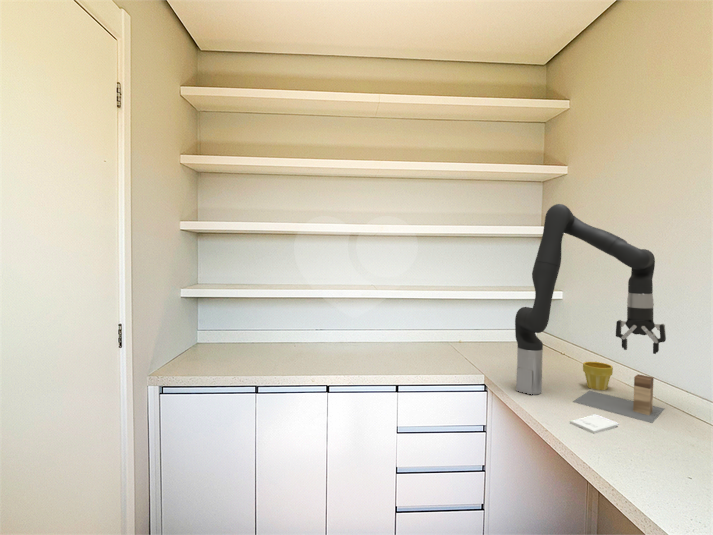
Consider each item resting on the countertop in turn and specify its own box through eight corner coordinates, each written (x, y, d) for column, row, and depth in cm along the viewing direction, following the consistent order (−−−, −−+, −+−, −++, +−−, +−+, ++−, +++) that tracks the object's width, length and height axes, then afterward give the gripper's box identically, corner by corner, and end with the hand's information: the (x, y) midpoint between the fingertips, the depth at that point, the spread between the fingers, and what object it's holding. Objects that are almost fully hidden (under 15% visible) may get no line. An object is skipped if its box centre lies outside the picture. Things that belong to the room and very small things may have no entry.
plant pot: (581, 382, 169) (582, 359, 168) (609, 386, 164) (610, 363, 164) (583, 390, 160) (584, 366, 159) (613, 394, 155) (614, 369, 155)
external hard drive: (619, 428, 127) (593, 435, 121) (594, 418, 134) (569, 424, 129) (619, 423, 127) (593, 430, 121) (594, 413, 134) (569, 420, 129)
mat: (652, 425, 128) (652, 423, 128) (572, 403, 146) (572, 401, 146) (664, 410, 140) (664, 408, 140) (589, 391, 158) (589, 390, 158)
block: (648, 415, 134) (650, 380, 133) (633, 411, 137) (634, 376, 137) (652, 411, 137) (653, 377, 136) (636, 407, 140) (637, 374, 140)
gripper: (614, 305, 142) (613, 350, 143) (664, 308, 132) (663, 357, 133) (618, 303, 148) (618, 346, 148) (667, 306, 138) (666, 352, 138)
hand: (639, 351), depth 141 cm, fingers open, 8 cm apart
